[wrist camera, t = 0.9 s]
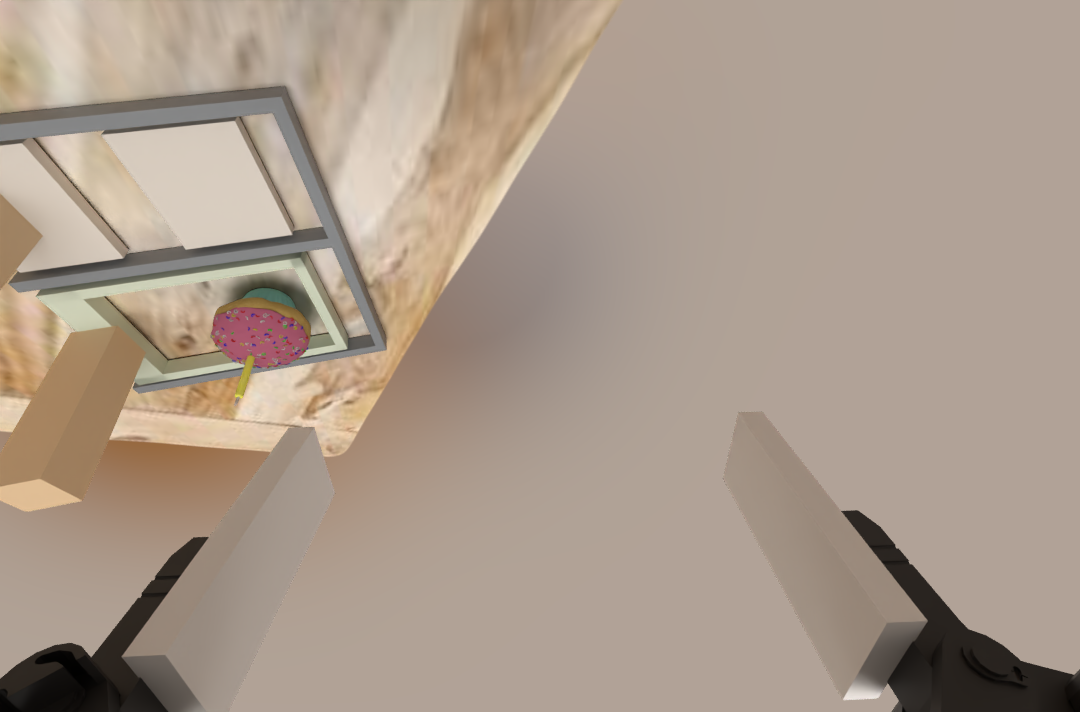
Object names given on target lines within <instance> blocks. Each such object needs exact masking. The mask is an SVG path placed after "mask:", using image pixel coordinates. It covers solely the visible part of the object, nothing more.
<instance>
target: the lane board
mask: <svg viewBox="0 0 1080 712" xmlns="http://www.w3.org/2000/svg"><path fill="white" fill-rule="evenodd" d="M267 113H273V114H274V116H275V118H276V121H277V123H278V125H279V128H280V130H281V132H282V134H283V137H284V139H285V141H286V143H287V146H288V148H289V150H290V153H291V155H292V157H293V159H294V162H295V164H296V166H297V169H298V171H299V173H300V175H301V178H302V180H303V182H304V184H305V187H306V189H307V191H308V194H309V196H310V198H311V200H312V203H313V205H314V207H315V209H316V212H317V214H318V216H319V219H320V221H321V223H322V225H323V227H320V228H313V229H306V230H298V231H293V235H288V236H281V237H274V238H266V239H259V240H252V241H245V242H238V243H230V244H223V245H216V246H209V247H202V248H194V249H187V250H186V249H185V248H184V246H182V247H175V248H168V249H160V250H153V251H146V252H139V253H131V254H126V255H125V257H124V258H122V259H115V260H108V261H101V262H93V263H86V264H79V265H72V266H65V267H57V268H50V269H43V270H36V271H29V272H21V273H20V272H19V271H18V272H17V273H16V275H15V276H14V277H13V278H12V280H11V281H10V282H9V283H8V284H9V285H10V286H12V287H13V288H14V289H15V290H16V291H18V292H26V291H33V290H40V289H47V288H54V287H61V286H68V285H75V284H82V283H89V282H96V281H103V280H110V279H117V278H124V277H131V276H138V275H145V274H151V273H158V272H165V271H172V270H179V269H186V268H193V267H200V266H207V265H214V264H221V263H228V262H235V261H242V260H249V259H256V258H263V257H270V256H277V255H284V254H290V253H297V252H304V251H311V250H318V249H325V248H333V250H334V253H335V255H336V257H337V259H338V262H339V264H340V266H341V269H342V271H343V273H344V275H345V278H346V280H347V282H348V284H349V287H350V289H351V291H352V294H353V296H354V298H355V300H356V303H357V305H358V307H359V310H360V312H361V314H362V316H363V319H364V321H365V323H366V325H367V328H368V330H369V332H370V335H366V336H360V337H354V338H348V349H345V350H339V351H334V352H328V353H322V354H316V355H311V356H305V357H299V358H300V359H299V360H295V361H293V363H290V364H288V365H284V366H280V367H273V368H268V367H267V368H265V369H263V368H261V369H260V368H257V367H256V368H253V367H252V370H251V373H250V374H253V373H259V372H264V371H270V370H276V369H282V368H287V367H293V366H299V365H304V364H310V363H316V362H321V361H327V360H333V359H338V358H344V357H350V356H356V355H361V354H367V353H373V352H378V351H384V350H387V346H386V336H385V333H384V331H383V328H382V326H381V323H380V321H379V319H378V316H377V314H376V311H375V309H374V306H373V304H372V301H371V299H370V296H369V294H368V291H367V289H366V286H365V284H364V281H363V279H362V276H361V274H360V271H359V269H358V267H357V264H356V262H355V259H354V257H353V254H352V252H351V249H350V247H349V244H348V242H347V239H346V237H345V234H344V232H343V229H342V227H341V224H340V222H339V219H338V217H337V215H336V212H335V210H334V207H333V205H332V202H331V200H330V197H329V195H328V192H327V190H326V187H325V185H324V182H323V180H322V177H321V175H320V172H319V170H318V167H317V165H316V163H315V160H314V158H313V155H312V153H311V150H310V148H309V145H308V143H307V140H306V138H305V135H304V133H303V130H302V128H301V125H300V123H299V120H298V118H297V115H296V113H295V111H294V108H293V106H292V103H291V101H290V98H289V96H288V93H287V91H286V88H285V86H283V87H273V88H262V89H252V90H242V91H231V92H221V93H211V94H200V95H190V96H180V97H169V98H159V99H149V100H138V101H128V102H118V103H107V104H97V105H87V106H76V107H66V108H56V109H45V110H35V111H25V112H14V113H4V114H0V141H7V140H16V139H26V138H35V137H45V136H55V135H64V134H74V133H84V132H93V131H103V130H112V129H122V128H132V127H141V126H151V125H161V124H170V123H180V122H190V121H199V120H209V119H218V118H228V117H238V116H247V115H257V114H267ZM243 369H244V367H241V368H236V369H230V370H224V371H218V372H213V373H207V374H201V375H195V376H190V377H184V378H178V379H172V380H166V381H161V382H155V383H149V384H143V385H138V384H137V383H136V382H135V384H134V386H133V389H134V390H135V391H136V392H138V393H145V392H151V391H156V390H162V389H168V388H173V387H179V386H185V385H191V384H196V383H202V382H208V381H213V380H219V379H225V378H230V377H236V376H241V375H242V372H243Z"/></svg>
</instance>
